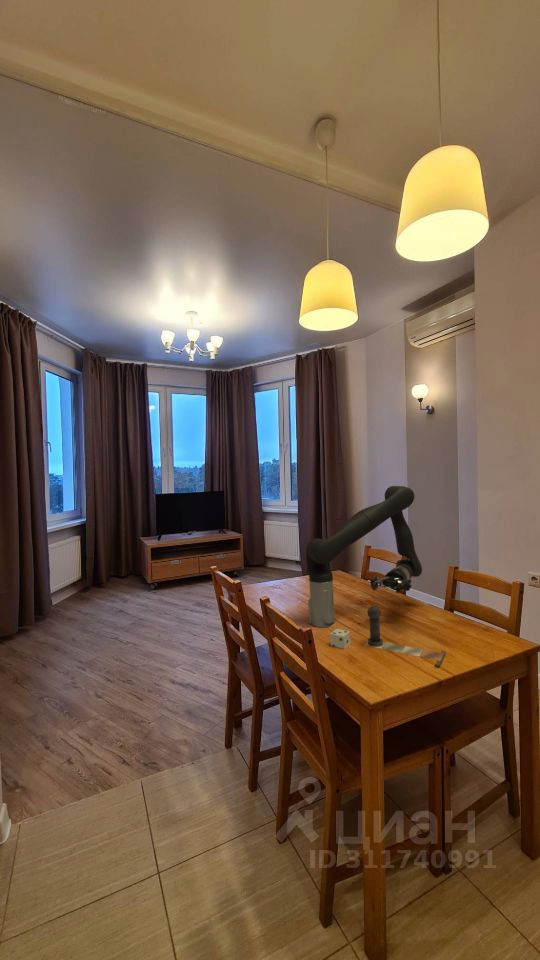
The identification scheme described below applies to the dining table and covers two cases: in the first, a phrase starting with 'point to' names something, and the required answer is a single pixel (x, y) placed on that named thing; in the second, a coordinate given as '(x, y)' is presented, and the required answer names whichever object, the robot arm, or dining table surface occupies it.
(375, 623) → the pawn
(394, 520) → the robot arm
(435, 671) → the dining table surface
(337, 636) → the die
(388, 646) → the board
